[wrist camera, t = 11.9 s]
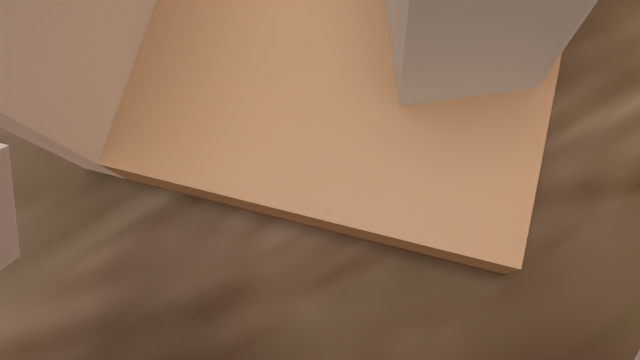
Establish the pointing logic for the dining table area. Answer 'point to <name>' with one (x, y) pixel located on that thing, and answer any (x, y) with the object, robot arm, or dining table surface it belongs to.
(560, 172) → the dining table surface
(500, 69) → the white block
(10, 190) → the robot arm
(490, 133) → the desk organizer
